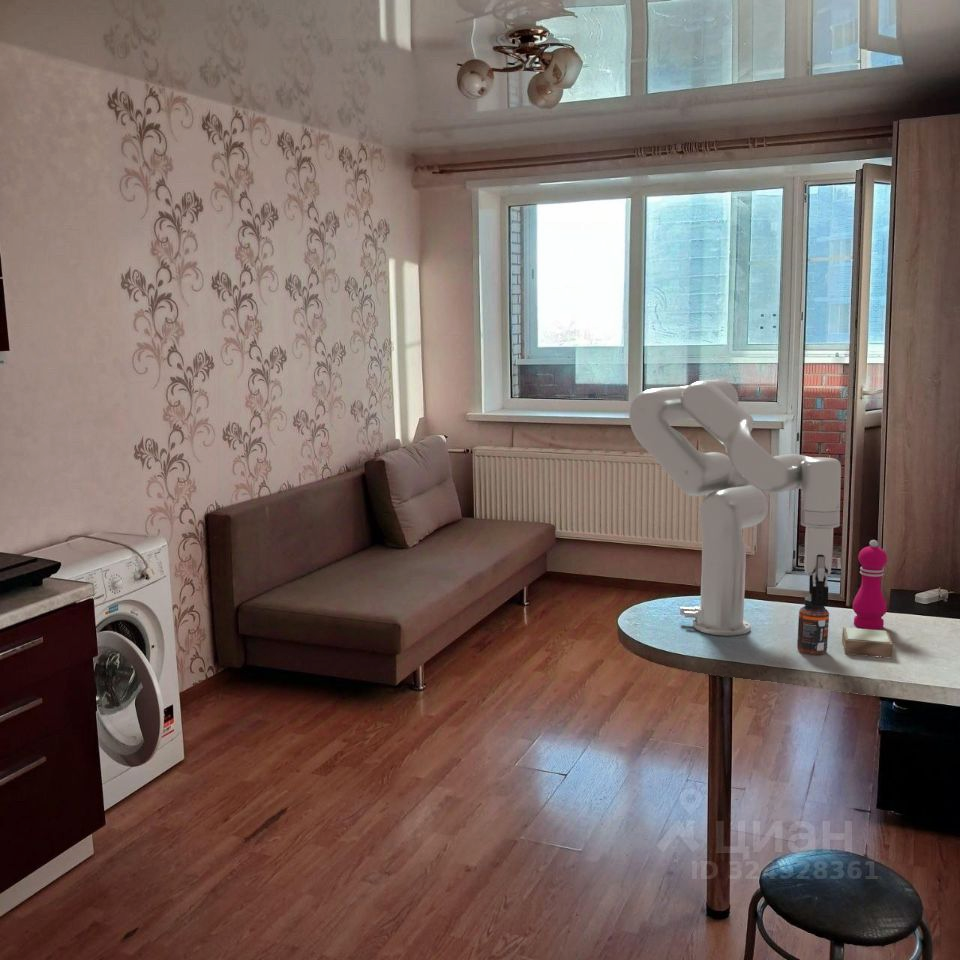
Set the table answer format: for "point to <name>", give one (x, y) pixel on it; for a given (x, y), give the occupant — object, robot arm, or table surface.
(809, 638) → the supplement bottle
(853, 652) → the base
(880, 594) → the pepper mill
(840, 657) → the table surface
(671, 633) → the table surface
